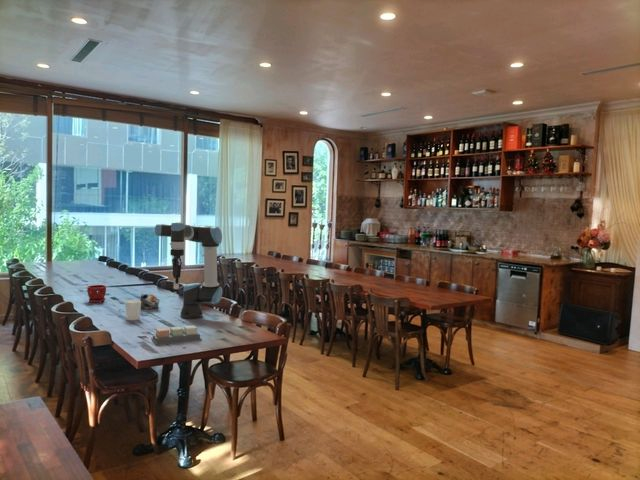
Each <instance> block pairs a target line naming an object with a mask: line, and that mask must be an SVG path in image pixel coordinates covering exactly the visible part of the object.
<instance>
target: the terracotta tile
mask: <svg viewBox="0 0 640 480" xmlns="http://www.w3.org/2000/svg"><path fill="white" fill-rule="evenodd" d="M169 333H170V329H169V328H168V327H158V328H155V334H156V336H157V337H158V338H162V337H169Z"/></svg>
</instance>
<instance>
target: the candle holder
mask: <svg viewBox="0 0 640 480" xmlns="http://www.w3.org/2000/svg"><path fill="white" fill-rule="evenodd" d="M141 311H142V310H141V301H140V299H130V300H126V301H125V317H126V320H127V321H138V320H141Z"/></svg>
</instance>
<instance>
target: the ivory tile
mask: <svg viewBox="0 0 640 480" xmlns="http://www.w3.org/2000/svg"><path fill="white" fill-rule="evenodd" d="M183 332H184V333H185V334H186V335H194V334H197V332H198V327H196V325H183Z"/></svg>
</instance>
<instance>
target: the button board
mask: <svg viewBox="0 0 640 480" xmlns="http://www.w3.org/2000/svg"><path fill="white" fill-rule="evenodd" d="M151 341H152V343H154V345H155V346H159V345H168V344H179V343H180V344H181V343H187V342H188V343H189V342H190V343H191V342H198V341H202V337H201V334H200V333H199V332H198V331H197V334H194V335H186V334H185V333H184V331H183V336H172V335H171V334H170V332H169V337H162V338H158V337H157V336H156V333H155V334H152V337H151Z"/></svg>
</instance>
